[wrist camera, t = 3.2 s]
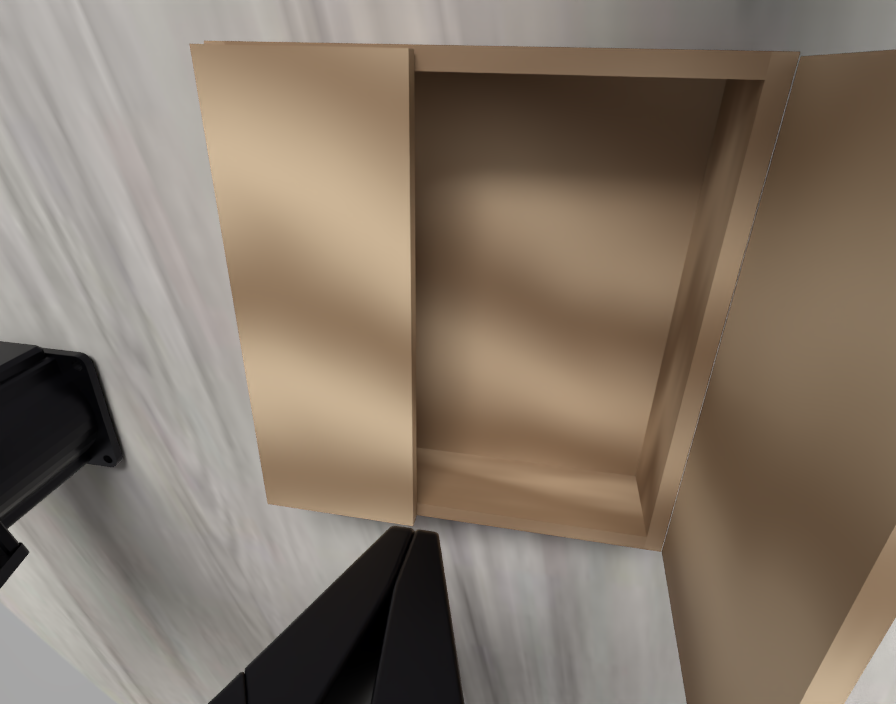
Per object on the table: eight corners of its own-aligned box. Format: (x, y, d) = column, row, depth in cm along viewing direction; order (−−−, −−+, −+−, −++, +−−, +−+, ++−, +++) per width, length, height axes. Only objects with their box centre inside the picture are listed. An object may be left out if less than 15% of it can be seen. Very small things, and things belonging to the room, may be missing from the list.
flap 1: (416, 514, 21) (413, 526, 21) (274, 493, 22) (267, 503, 22) (414, 49, 14) (408, 48, 13) (202, 44, 15) (189, 43, 14)
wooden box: (645, 479, 23) (660, 551, 20) (314, 436, 26) (275, 493, 22) (748, 55, 16) (800, 51, 13) (271, 46, 18) (203, 40, 15)
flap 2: (661, 551, 20) (679, 555, 20) (713, 864, 12) (743, 872, 12) (800, 56, 13) (829, 56, 12) (1161, 30, 5) (1248, 31, 5)
